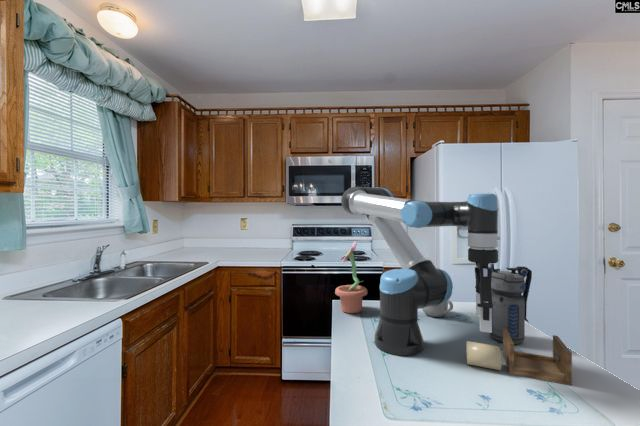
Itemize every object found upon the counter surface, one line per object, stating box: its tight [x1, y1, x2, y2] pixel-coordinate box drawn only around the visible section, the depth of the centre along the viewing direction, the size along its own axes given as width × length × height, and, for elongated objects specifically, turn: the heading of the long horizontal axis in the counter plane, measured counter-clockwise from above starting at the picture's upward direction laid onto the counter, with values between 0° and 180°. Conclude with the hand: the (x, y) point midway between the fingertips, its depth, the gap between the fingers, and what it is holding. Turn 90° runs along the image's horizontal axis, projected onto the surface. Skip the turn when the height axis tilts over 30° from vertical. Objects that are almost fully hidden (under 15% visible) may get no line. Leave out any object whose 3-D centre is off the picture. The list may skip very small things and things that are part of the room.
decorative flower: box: [334, 241, 368, 314], centre depth 128 cm, size 15×14×30 cm
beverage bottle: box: [488, 263, 533, 345], centre depth 99 cm, size 10×13×25 cm
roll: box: [465, 340, 502, 371], centre depth 82 cm, size 8×6×6 cm
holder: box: [502, 328, 573, 387], centre depth 80 cm, size 13×11×8 cm
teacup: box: [420, 299, 454, 318], centre depth 121 cm, size 14×11×8 cm
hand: (483, 322), depth 84 cm, fingers open, 13 cm apart
